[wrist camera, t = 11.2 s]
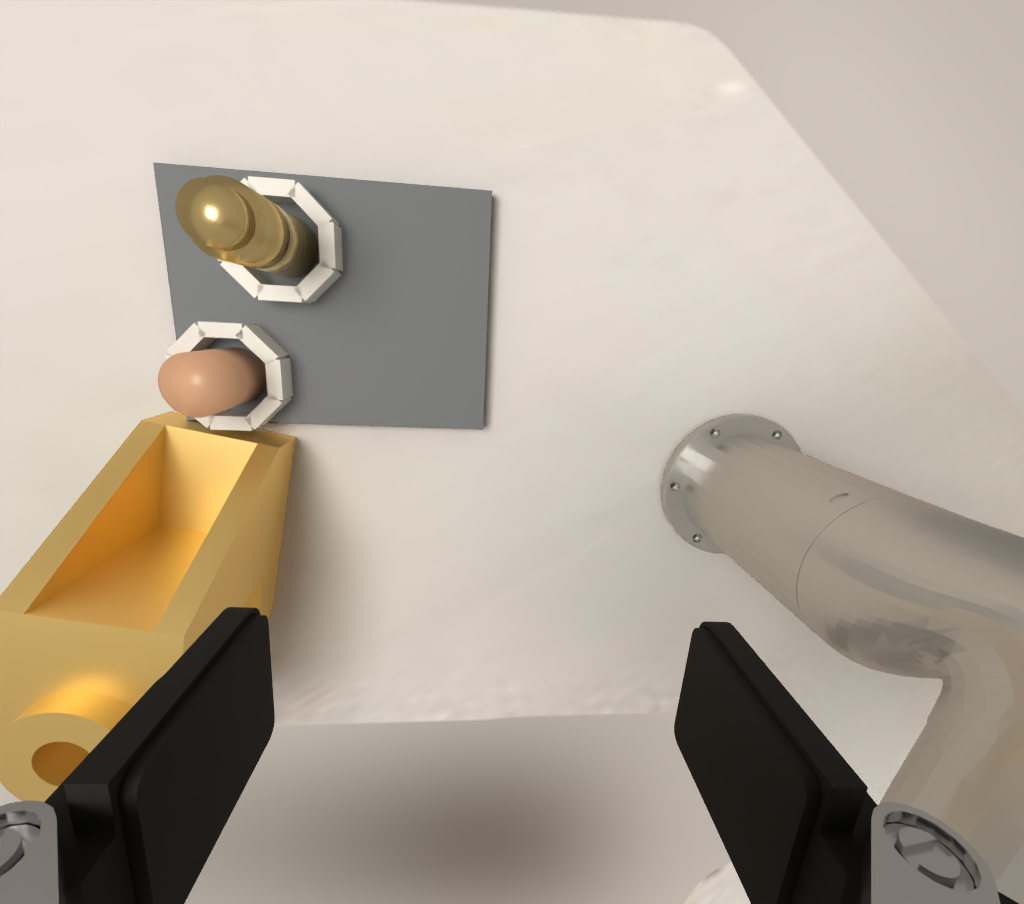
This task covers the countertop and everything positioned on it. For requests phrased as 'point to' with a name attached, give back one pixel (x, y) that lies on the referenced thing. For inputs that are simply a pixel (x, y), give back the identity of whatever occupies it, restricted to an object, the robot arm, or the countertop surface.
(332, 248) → the white octagonal ring
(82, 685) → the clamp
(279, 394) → the joined fitting
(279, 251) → the gold rounded cylinder
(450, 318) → the mat
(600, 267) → the countertop surface
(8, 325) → the countertop surface
